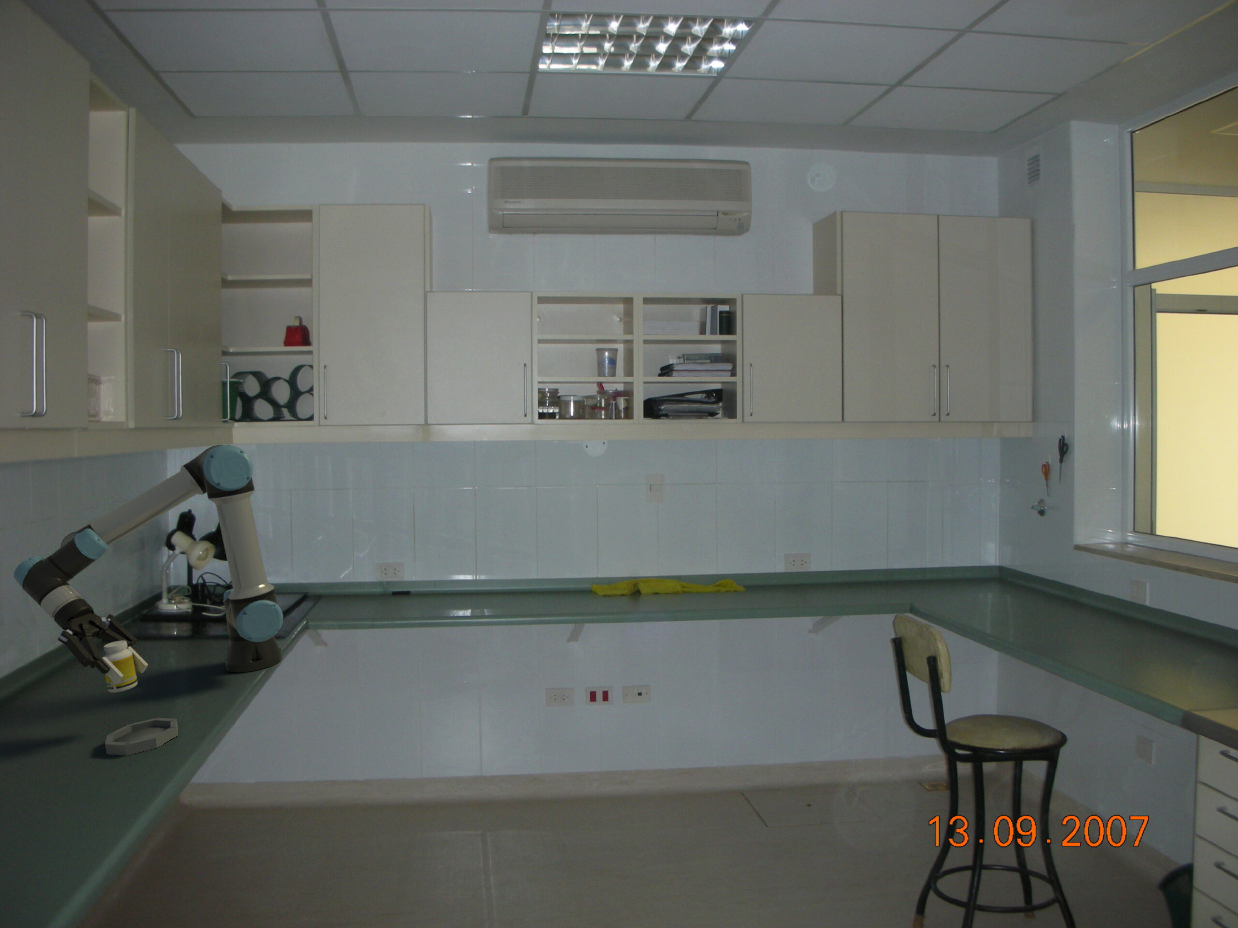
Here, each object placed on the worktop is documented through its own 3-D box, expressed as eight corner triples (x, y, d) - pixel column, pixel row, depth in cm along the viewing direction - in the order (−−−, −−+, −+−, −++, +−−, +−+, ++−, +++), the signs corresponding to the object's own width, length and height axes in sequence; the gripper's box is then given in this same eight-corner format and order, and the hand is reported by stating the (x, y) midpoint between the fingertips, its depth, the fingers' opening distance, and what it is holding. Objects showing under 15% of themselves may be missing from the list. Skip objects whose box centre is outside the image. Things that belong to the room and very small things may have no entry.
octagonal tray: (144, 726, 196) (143, 717, 195) (191, 729, 191) (190, 719, 191) (92, 753, 182) (90, 742, 182) (141, 756, 178) (140, 745, 178)
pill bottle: (143, 681, 198) (135, 637, 197) (129, 691, 192) (121, 646, 191) (117, 684, 198) (109, 640, 197) (102, 694, 192) (94, 649, 190)
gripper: (97, 607, 207) (158, 669, 204) (23, 632, 188) (89, 701, 185) (109, 586, 204) (171, 649, 201) (36, 610, 186) (103, 679, 183)
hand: (132, 674), depth 193 cm, fingers closed on pill bottle, 6 cm apart
